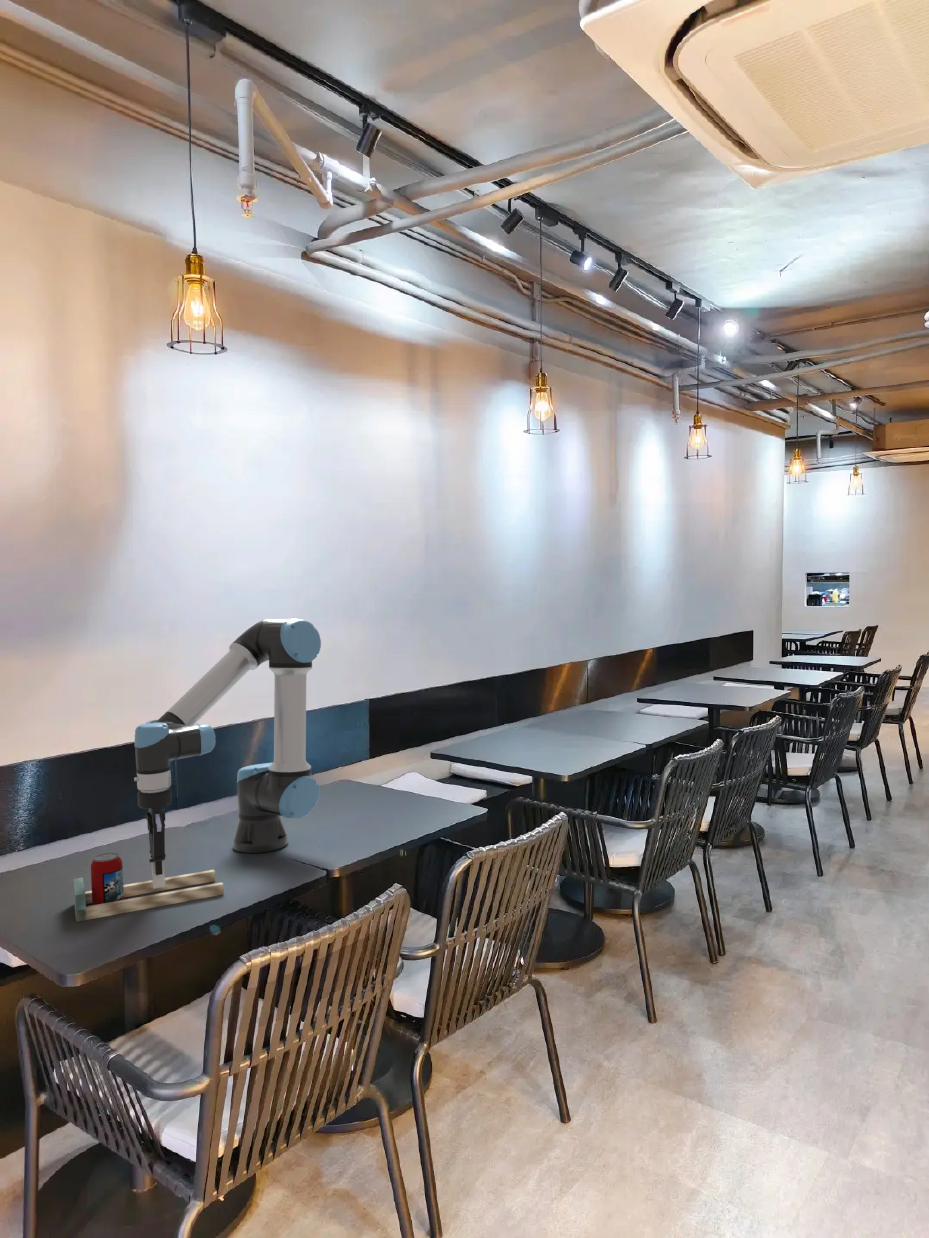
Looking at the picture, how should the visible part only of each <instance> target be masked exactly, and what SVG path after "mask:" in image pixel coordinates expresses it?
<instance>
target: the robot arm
mask: <svg viewBox="0 0 929 1238" xmlns="http://www.w3.org/2000/svg"><path fill="white" fill-rule="evenodd" d="M321 645H322V639H321V636H320V632H319V631H318V629H317V628H316V626H314V624H313V623H312V622H310V621H308V620H306V619H299V618H294V617H292V618H266V619H263V620H260V621H258V622H256V623H255V624H253V625H252V626H250V627H249V628H248V629H246V630H245V631H244V632H242V634H240V635H239V636H238V637H237V638H236V639H235V640H234V641H233V642H232V643H231V644H230V645H229V647H228V650H229V651H228V652H227V653H226V654H225V655H224V656H223V657H221V659H219V660H218V662H216V663H215V664H214V665H213V666H212V667H211V668H210V669H209V670H208V671H207V672H206V673H205V674H204V675H202V677H201V678H200V679H199V680H198V681H197V682H195V683H194V684H193V686H192V687H191V688H189V689H188V690H187V691H186V692H185V693H184V694H183V695H182V696H181V697H180V698H179V699H178V700H177V701H176V702H175V703H174V704H173V705H172V706H171V707H170V708H169V709H168V710H167V711H166V712H165V713H163V714H162V715H161V716H160V717H159V718H158V719H153V720H148V721H146V722H145V723H143V724H139V725H138V726H136V728H135V730H134V748H135V753H134V754H135V766H136V767H135V768H136V776H135V777H134V778H133V780H134V782H136V786H137V787H136V789H137V790H138V792H137V793H136V794H137V806H138V807H139V808H141V809H145V810H147V809H148V812H146V813H145V819H146V822H147V830H148V840H149V841H148V842H149V854H150V859H149V863H151V864H150V865H151V879H152V886H153V889H155V888H160V887H165V878H166V877H165V876H166V874H165V873H166V871H165V860H166V855H167V854H166V846H165V844H166V841H165V839H166V837H165V836H166V835H165V832H166V823H165V821H166V813H165V811H164V810H162V809H163V807H168V806H170V805H171V803H172V788H171V785H172V778H171V777H172V775H171V761H176V760H181V759H186V758H191V757H195V756H200V757H201V756H202V755H205V754H208V753H211V752H212V751H213V750H214V748H215V747H216V742H217V741H216V733H215V731H214V728H213V727H212V726H211V725H210V724H208V723H198V721H200V720H201V719H202V718H203V716H205V715H206V714H207V713H208V711H210V710H211V709H212V707H214V706H215V705H216V704H217V703H218V702H219V700H221V699H222V698H223V697H224V696H225V694H227V693H228V692H229V691H230V690H231V689H232V688H233V687H234V686H235V685H236V684H237V683H238V682H239V681H240V680H241V679H242V678H243V677H244V676H245V675H246V674H247V673H248V672H249V671H254V670H256V669H257V668H258V667H259V666H260V665H262V664H263V663H265V662H268V668H269V670H270V671H271V672H272V673H273V675H274V700H273V701H274V705H273V706H274V709H273V710H274V712H273V714H274V717H273V720H274V721H273V726H274V727H273V762H266V763H265V762H264V763H259V764H258V763H257V764H251V765H247V766H244V767H241V768H239V770H238V771H237V775H236V786H237V788H236V789H237V790H236V791H237V809H238V811H237V812H238V821H237V825H236V828H235V832H234V835H233V838H232V845H233V846H232V847H233V848H232V849H234V850H235V852H239V853H246V854H260V853H261V854H262V853H268V852H272V851H277V850H279V849H282V848H284V847H285V846H287V845H288V842H289V841H288V833H287V830H286V828H285V827H286V826H285V825H284V822H283V820H282V817H283V818H286V819H302V818H305V817H306V816H307V817H308V815H310V813H311V812H312V811H313V809H314V808H315V807H316V806H317V804H318V802H319V799H320V795H321V792H320V785H319V783H318V781H317V780H316V779H315V778H314V777H312V765H311V764H309V763H308V761H307V760H306V758H307V752H306V750H307V743H306V742H307V674H308V673H309V672H310V670H311V669H312V668H313V661H314V660H315V659H316V658H317V657H318V656H317V655H319V654H320V652H321V647H322V646H321Z"/></svg>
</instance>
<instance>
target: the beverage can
mask: <svg viewBox="0 0 929 1238" xmlns="http://www.w3.org/2000/svg"><path fill="white" fill-rule="evenodd" d="M123 868H124V867H123V860H122V858H121V857H120V855H119V853H117V852H105V853H100V854H97V855H96V856H94V857H93V860H92V862H91V864H90V881H91V891H92V903H91V904H92V906H93V905H98V904H104V903H109V902H115V901H120V900H125V897H124V887H123V885H124V870H123Z"/></svg>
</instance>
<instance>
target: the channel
mask: <svg viewBox="0 0 929 1238" xmlns="http://www.w3.org/2000/svg"><path fill="white" fill-rule="evenodd" d="M72 881H73V882H72V883H73V901H74V902H73V905H74V913H75V921H76V922H78V923H79V922H83V921H89V920H94V919H99V918H104V917H111V916H116V915H119V914H120V915H121V914H125V913H132V912H137V911H142V910H148V909H154V908H158V907H162V906H163V907H164V906H168V905H170V906H171V905H174V904H179V903H185V902H189V901H197V900H200V899H201V900H202V899H207V898H212V897H218V896H224V895H225V894H224V883H223V882H222V881H221V882H216V871H215V869H209V870H203V871H197V872H191V873H187V874H186V873H185V874H180V875H175V876H174V875H173V876H167V877H165V887H160V888H155V889H153V886H152V880H145V881H140V882H134V883H129V884H128V883H127V884H123V887H124V898H127V897H128V899H124V900H120V901H115V902H109V903H104V904H98V905H93V903H92V890H88V891H86V890H85V883H84V878H83V877H78V878H73V879H72ZM212 882H216V883H212ZM207 883H208V884H207ZM209 883H211V884H209ZM201 884H203V885H201ZM204 884H205V885H204ZM195 885H199V886H195ZM189 886H194V887H189ZM184 887H185V888H184ZM186 887H188V888H186ZM178 888H179V889H178ZM180 888H183V889H180ZM174 889H177V890H174ZM167 890H168V891H167ZM169 890H171V891H169ZM162 891H166V892H162ZM156 892H159V893H156ZM151 893H155V894H151ZM144 894H145V896H144ZM146 894H149V895H146ZM139 895H143V896H139ZM135 896H138V897H135ZM129 897H132V898H129ZM89 904H92V905H89ZM87 905H88V906H87Z"/></svg>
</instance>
